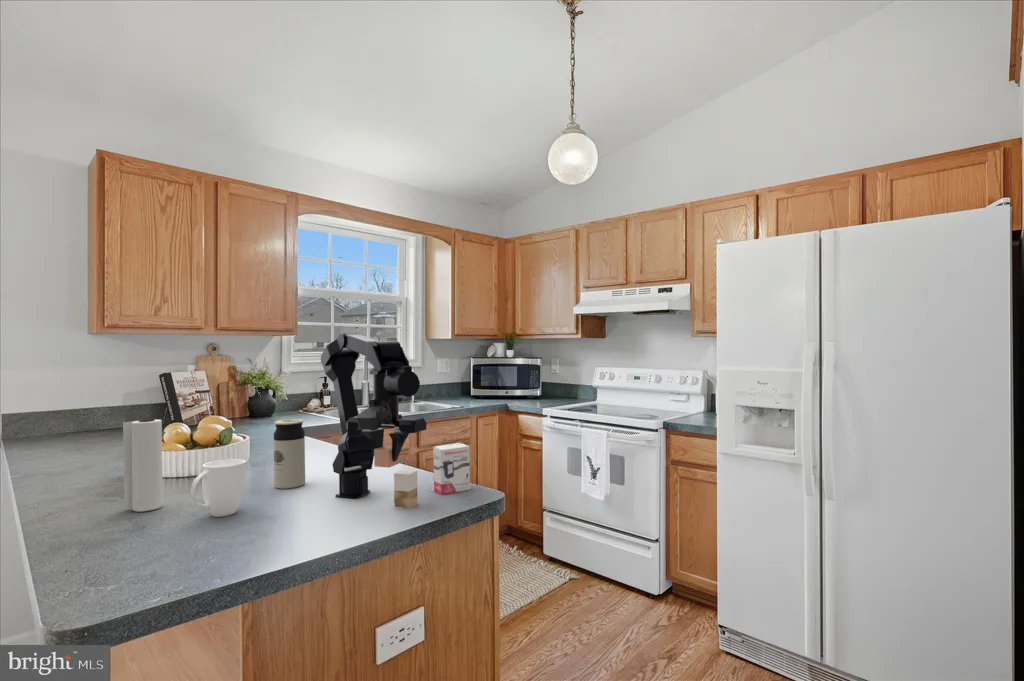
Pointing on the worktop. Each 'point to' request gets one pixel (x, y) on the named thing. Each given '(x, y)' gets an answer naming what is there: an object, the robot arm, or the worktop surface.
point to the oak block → (405, 498)
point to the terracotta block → (384, 457)
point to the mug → (221, 486)
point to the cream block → (405, 480)
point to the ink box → (451, 468)
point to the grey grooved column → (142, 465)
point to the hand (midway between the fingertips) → (386, 460)
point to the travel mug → (289, 454)
